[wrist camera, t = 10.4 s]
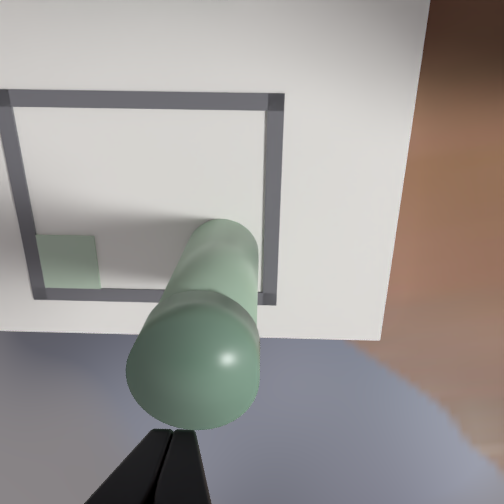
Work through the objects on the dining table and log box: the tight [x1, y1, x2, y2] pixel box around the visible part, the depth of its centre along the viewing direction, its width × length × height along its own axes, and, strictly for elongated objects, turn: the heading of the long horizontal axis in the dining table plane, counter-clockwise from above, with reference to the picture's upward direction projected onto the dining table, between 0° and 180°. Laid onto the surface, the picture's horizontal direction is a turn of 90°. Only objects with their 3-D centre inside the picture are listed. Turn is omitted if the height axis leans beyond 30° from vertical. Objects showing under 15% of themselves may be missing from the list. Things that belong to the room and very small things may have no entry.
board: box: [0, 0, 430, 341], centre depth 15 cm, size 20×20×2 cm
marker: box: [126, 219, 260, 430], centre depth 14 cm, size 3×3×8 cm
